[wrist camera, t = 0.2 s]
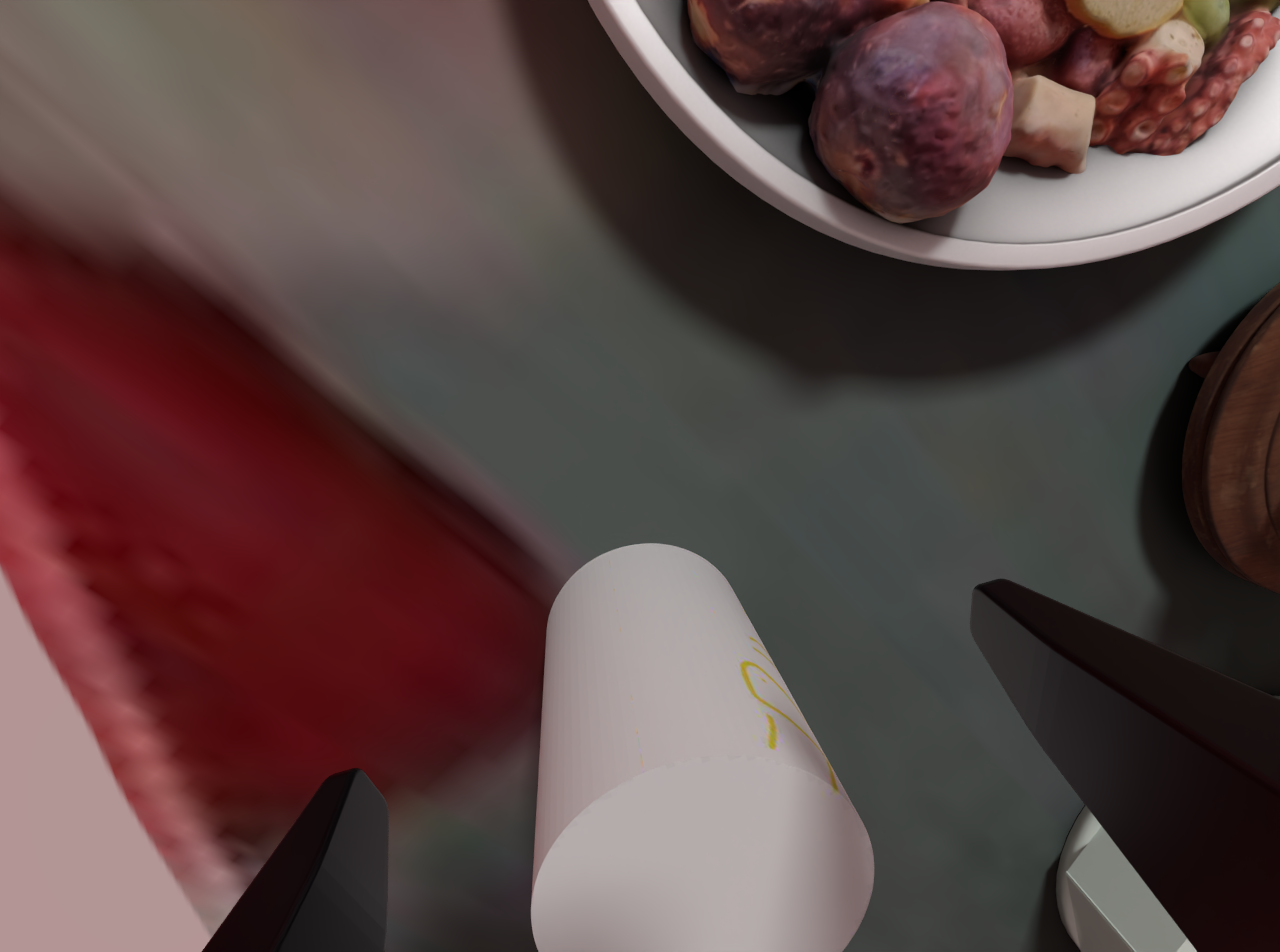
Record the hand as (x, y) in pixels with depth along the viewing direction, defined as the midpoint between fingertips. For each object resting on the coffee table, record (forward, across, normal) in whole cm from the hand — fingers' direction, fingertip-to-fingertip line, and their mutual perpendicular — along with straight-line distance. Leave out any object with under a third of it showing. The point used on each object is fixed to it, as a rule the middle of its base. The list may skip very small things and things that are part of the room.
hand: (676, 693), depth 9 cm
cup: (+13, +1, +12) cm, 18 cm away
